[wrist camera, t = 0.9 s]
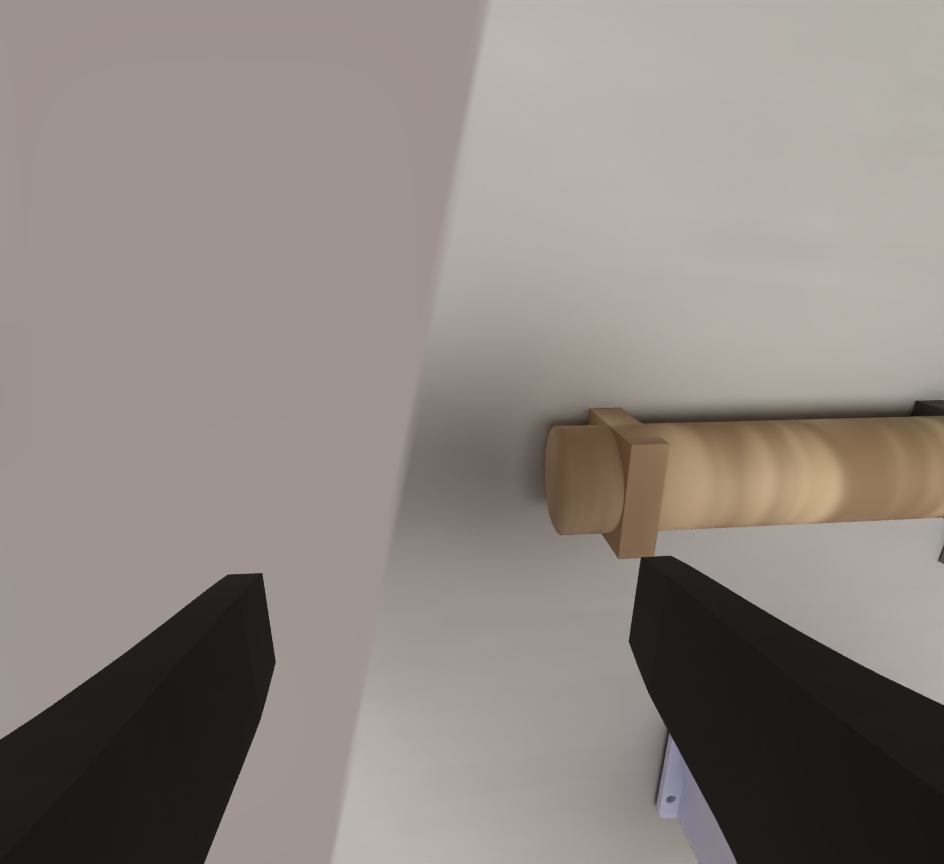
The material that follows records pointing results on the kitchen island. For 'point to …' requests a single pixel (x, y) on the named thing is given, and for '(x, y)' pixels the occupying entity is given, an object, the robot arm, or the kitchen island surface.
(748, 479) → the light wooden rod
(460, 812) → the kitchen island surface
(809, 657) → the robot arm
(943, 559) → the collar
